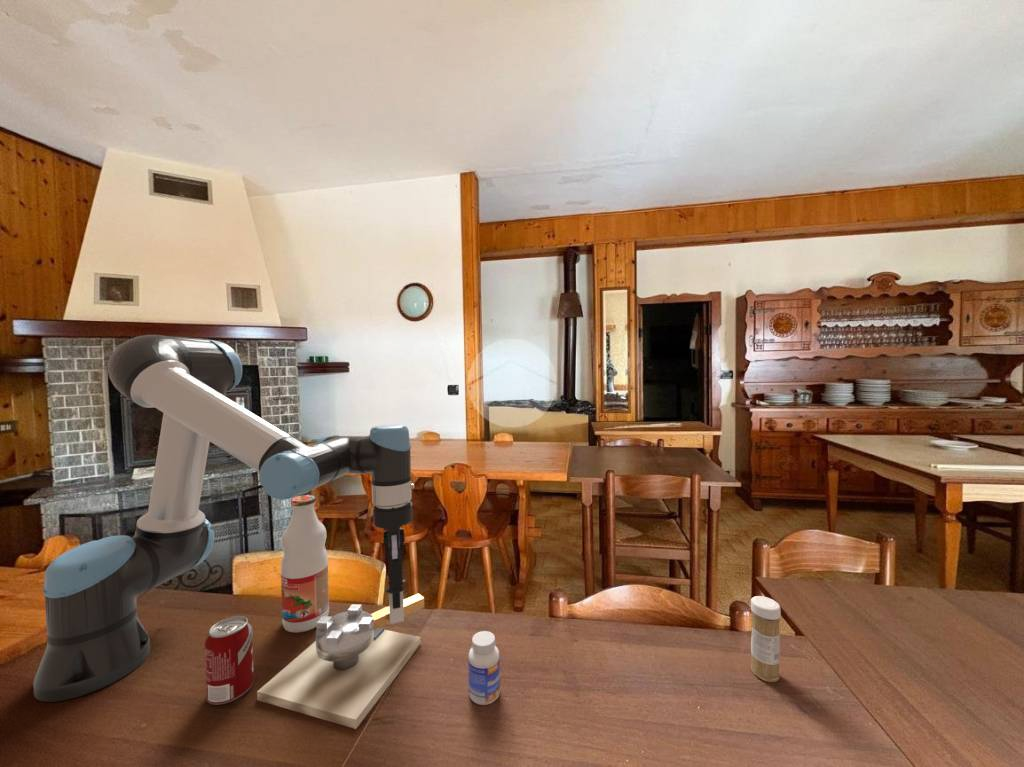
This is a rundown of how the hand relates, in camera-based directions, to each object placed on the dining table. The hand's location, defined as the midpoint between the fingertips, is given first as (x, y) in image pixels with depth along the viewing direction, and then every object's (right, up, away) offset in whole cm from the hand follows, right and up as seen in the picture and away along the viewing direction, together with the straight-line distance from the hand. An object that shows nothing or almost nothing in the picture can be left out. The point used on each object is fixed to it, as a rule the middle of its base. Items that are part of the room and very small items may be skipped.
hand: (396, 620), depth 78 cm
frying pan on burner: (-4, -1, -1) cm, 4 cm away
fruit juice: (-24, -7, +11) cm, 27 cm away
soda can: (-26, -7, -9) cm, 29 cm away
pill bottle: (+18, -7, -10) cm, 22 cm away
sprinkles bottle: (+69, -6, -6) cm, 70 cm away
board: (-8, -7, -4) cm, 11 cm away
